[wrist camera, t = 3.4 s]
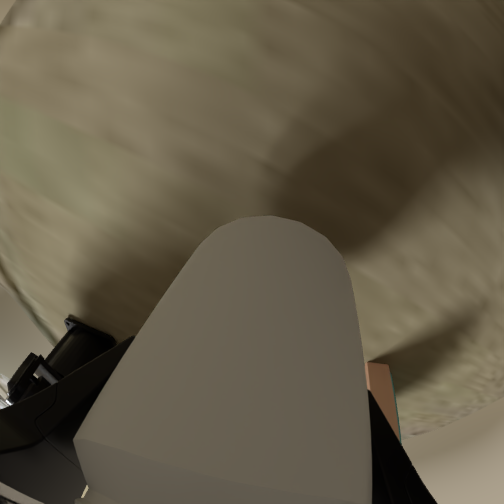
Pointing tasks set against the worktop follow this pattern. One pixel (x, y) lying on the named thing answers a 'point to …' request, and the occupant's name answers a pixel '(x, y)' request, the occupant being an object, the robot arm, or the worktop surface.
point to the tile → (383, 392)
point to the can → (239, 382)
